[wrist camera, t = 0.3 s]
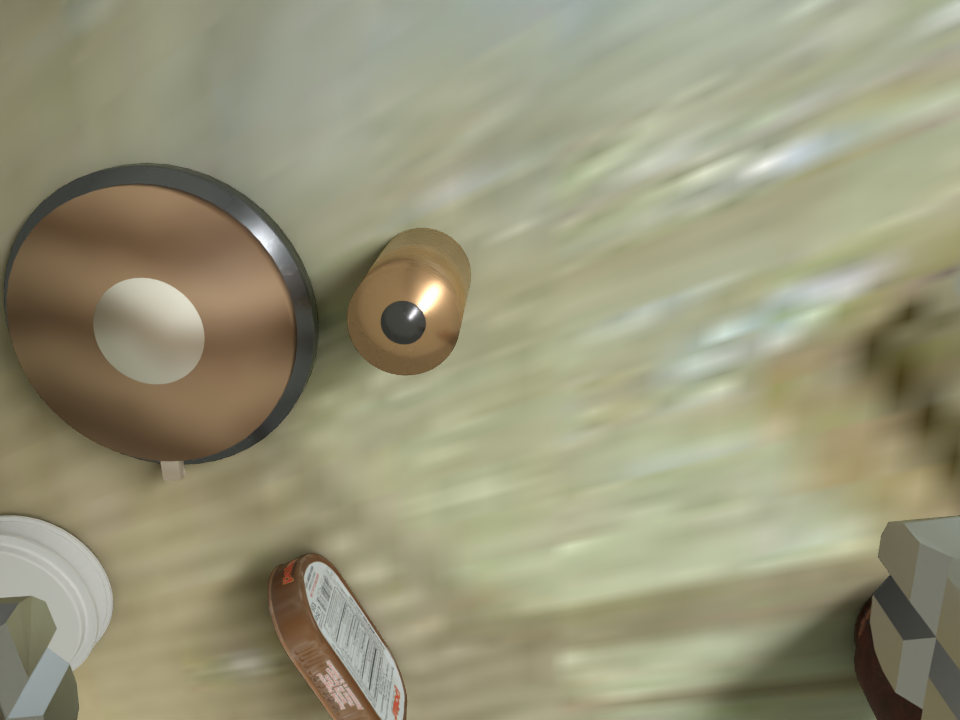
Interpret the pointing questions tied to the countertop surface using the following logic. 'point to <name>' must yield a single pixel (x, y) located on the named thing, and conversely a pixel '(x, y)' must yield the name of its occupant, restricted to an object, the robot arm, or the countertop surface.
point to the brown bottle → (878, 676)
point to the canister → (411, 303)
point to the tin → (334, 642)
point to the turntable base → (248, 217)
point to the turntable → (152, 322)
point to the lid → (56, 582)
